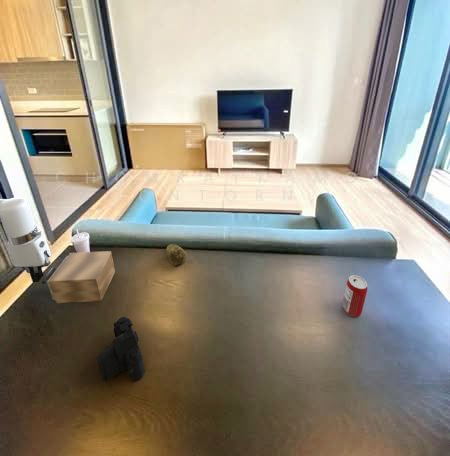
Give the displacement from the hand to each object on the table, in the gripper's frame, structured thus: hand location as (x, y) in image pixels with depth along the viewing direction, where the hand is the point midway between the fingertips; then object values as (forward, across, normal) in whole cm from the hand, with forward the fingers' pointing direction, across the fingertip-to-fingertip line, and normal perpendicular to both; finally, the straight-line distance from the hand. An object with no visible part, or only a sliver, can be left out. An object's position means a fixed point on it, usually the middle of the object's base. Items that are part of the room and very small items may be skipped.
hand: (38, 278), depth 86 cm
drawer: (+3, -12, 0) cm, 12 cm away
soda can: (+4, -104, +14) cm, 105 cm away
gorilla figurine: (+4, -36, +25) cm, 44 cm away
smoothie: (+4, -8, -15) cm, 18 cm away
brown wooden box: (+4, -16, 0) cm, 16 cm away
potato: (+4, -46, -10) cm, 47 cm away
